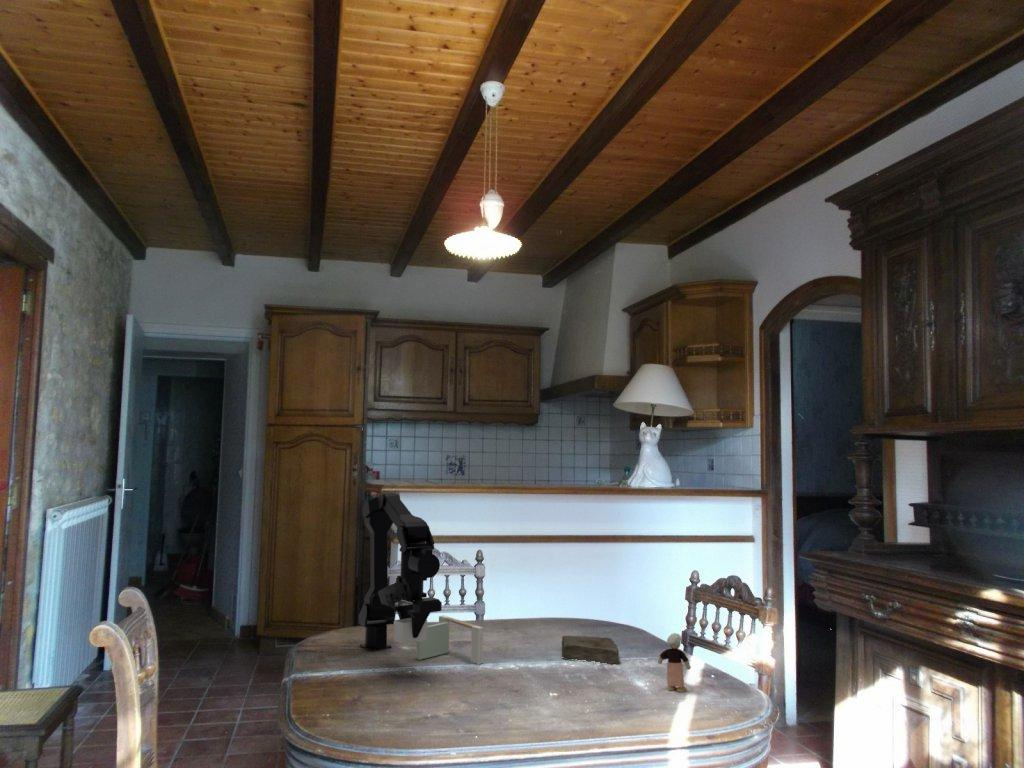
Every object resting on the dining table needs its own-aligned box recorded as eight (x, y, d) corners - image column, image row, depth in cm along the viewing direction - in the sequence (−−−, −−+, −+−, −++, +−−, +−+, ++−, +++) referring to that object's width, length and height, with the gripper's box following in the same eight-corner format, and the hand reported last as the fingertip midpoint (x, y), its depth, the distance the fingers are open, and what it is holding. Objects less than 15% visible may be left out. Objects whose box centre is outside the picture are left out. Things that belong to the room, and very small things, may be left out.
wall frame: (438, 649, 216) (438, 616, 217) (442, 649, 217) (443, 615, 217) (477, 664, 202) (478, 628, 203) (482, 663, 203) (483, 627, 204)
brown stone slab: (619, 666, 204) (619, 649, 204) (561, 664, 205) (561, 648, 205) (614, 649, 221) (614, 634, 221) (561, 648, 221) (561, 632, 222)
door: (441, 650, 214) (442, 621, 215) (448, 652, 212) (448, 622, 213) (413, 658, 206) (414, 627, 207) (419, 659, 205) (420, 628, 205)
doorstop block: (393, 640, 196) (394, 620, 196) (418, 637, 200) (418, 616, 201) (402, 644, 193) (402, 623, 193) (426, 640, 197) (427, 619, 198)
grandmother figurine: (692, 688, 184) (692, 632, 185) (690, 693, 181) (690, 636, 182) (658, 685, 187) (658, 629, 188) (656, 689, 183) (656, 633, 184)
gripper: (365, 569, 200) (363, 633, 199) (403, 580, 186) (402, 648, 185) (403, 566, 207) (401, 627, 206) (443, 575, 193) (442, 641, 192)
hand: (410, 636), depth 197 cm, fingers closed on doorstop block, 4 cm apart
